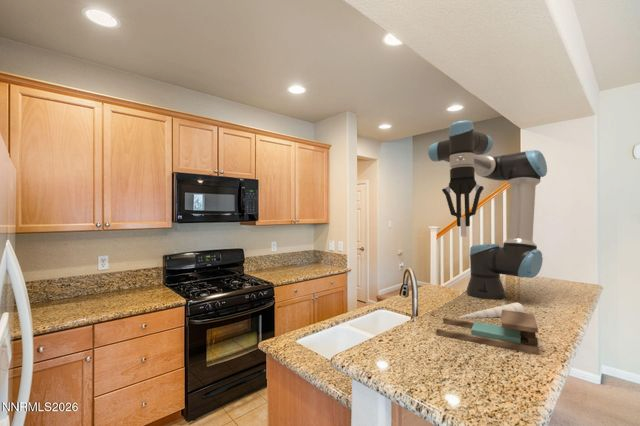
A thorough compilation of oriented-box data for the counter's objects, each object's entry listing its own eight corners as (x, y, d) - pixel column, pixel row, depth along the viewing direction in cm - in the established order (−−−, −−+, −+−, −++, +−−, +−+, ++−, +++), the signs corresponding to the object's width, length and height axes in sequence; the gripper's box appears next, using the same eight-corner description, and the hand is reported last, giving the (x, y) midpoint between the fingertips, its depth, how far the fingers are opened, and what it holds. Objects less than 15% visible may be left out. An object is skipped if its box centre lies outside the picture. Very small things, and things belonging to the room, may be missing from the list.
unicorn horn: (453, 315, 106) (452, 302, 106) (516, 313, 107) (515, 300, 107) (459, 320, 101) (459, 306, 101) (525, 318, 102) (525, 304, 102)
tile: (471, 339, 86) (471, 329, 86) (475, 330, 92) (475, 321, 92) (520, 349, 79) (520, 339, 79) (520, 339, 85) (520, 329, 85)
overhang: (436, 334, 88) (436, 312, 88) (444, 320, 99) (443, 301, 100) (538, 354, 74) (537, 328, 75) (534, 336, 86) (533, 313, 86)
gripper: (439, 168, 99) (441, 236, 98) (483, 163, 92) (485, 237, 91) (443, 170, 105) (445, 235, 105) (484, 166, 98) (486, 235, 98)
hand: (463, 236), depth 98 cm, fingers closed
